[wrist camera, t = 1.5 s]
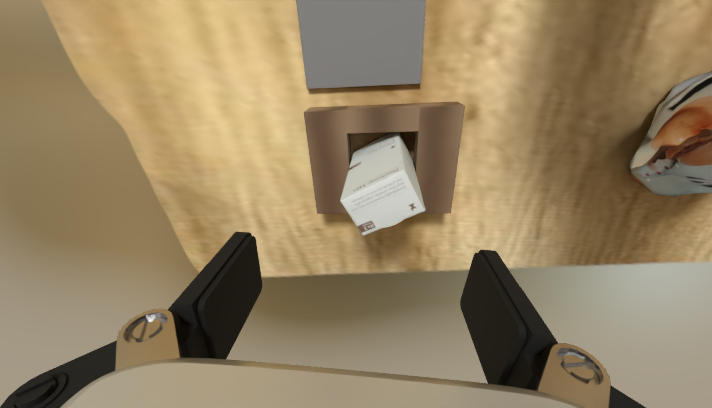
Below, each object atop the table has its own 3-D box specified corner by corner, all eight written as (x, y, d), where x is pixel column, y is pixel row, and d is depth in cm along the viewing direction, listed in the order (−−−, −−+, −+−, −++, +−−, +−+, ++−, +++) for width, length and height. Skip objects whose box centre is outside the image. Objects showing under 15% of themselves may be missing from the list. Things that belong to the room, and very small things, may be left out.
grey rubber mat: (429, -73, 23) (430, -76, 22) (420, 83, 28) (420, 83, 28) (290, -59, 24) (288, -62, 23) (308, 88, 29) (307, 88, 29)
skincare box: (397, 128, 31) (406, 163, 20) (413, 161, 32) (430, 210, 22) (350, 152, 32) (336, 198, 22) (368, 183, 34) (363, 239, 23)
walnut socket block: (457, 101, 29) (465, 105, 26) (445, 201, 34) (450, 213, 32) (310, 107, 30) (303, 112, 28) (321, 202, 36) (317, 213, 33)
